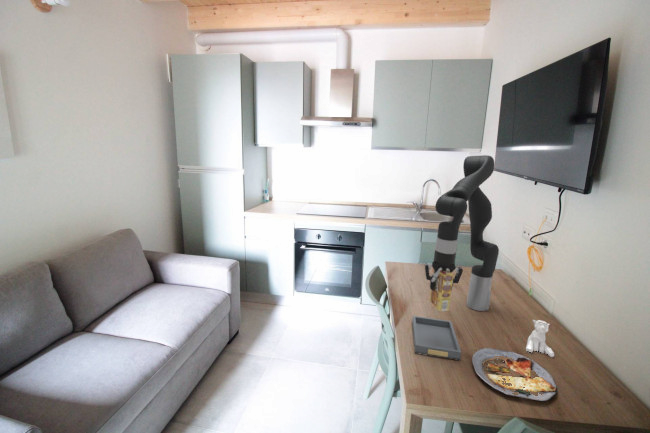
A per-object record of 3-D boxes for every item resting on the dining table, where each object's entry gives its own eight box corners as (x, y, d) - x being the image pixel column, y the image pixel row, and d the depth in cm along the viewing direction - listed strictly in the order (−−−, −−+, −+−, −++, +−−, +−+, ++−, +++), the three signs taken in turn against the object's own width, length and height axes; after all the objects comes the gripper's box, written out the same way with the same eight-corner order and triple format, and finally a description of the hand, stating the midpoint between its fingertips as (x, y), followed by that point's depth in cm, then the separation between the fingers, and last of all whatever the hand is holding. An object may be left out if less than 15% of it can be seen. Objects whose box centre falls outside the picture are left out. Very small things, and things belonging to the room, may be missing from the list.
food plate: (537, 359, 114) (539, 351, 113) (571, 411, 92) (573, 402, 91) (465, 349, 120) (466, 341, 119) (480, 396, 98) (482, 387, 97)
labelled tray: (450, 328, 132) (451, 321, 132) (460, 361, 112) (461, 353, 111) (412, 322, 136) (412, 315, 135) (414, 353, 116) (415, 345, 115)
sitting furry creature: (526, 353, 118) (532, 325, 115) (518, 339, 126) (524, 313, 123) (554, 358, 116) (561, 330, 113) (545, 344, 124) (551, 317, 121)
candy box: (449, 311, 117) (454, 274, 113) (438, 311, 116) (443, 274, 113) (437, 299, 125) (442, 264, 122) (428, 300, 125) (432, 265, 121)
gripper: (463, 248, 117) (458, 288, 121) (424, 244, 120) (420, 284, 124) (468, 255, 110) (461, 297, 114) (426, 250, 113) (421, 292, 117)
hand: (440, 290), depth 119 cm, fingers closed on candy box, 5 cm apart
